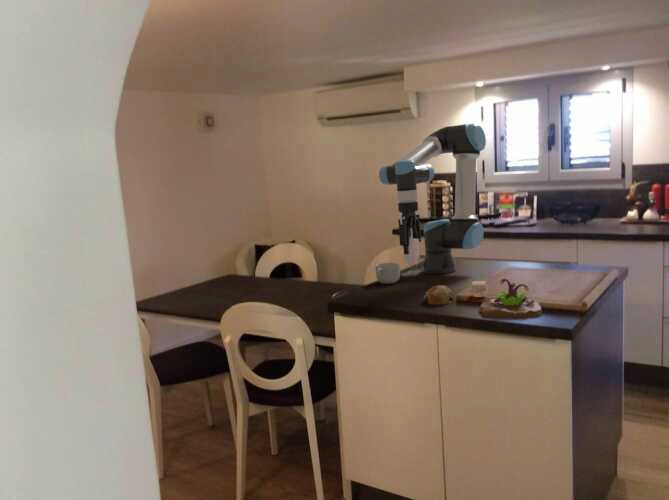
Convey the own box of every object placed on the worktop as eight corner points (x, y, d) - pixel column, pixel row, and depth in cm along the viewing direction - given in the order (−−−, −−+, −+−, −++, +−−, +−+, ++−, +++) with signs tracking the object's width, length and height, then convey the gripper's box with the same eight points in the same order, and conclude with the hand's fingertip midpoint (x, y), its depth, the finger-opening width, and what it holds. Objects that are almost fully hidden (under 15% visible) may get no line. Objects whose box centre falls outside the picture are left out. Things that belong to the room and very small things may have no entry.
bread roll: (442, 315, 214) (450, 296, 211) (418, 302, 219) (425, 283, 216) (453, 308, 223) (460, 290, 220) (428, 295, 227) (436, 277, 224)
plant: (482, 304, 213) (481, 273, 211) (541, 303, 207) (540, 271, 205) (478, 319, 194) (476, 285, 192) (542, 320, 188) (541, 284, 186)
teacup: (387, 278, 267) (386, 261, 266) (406, 281, 260) (405, 262, 258) (366, 285, 258) (364, 267, 257) (385, 287, 250) (384, 268, 249)
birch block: (473, 294, 226) (472, 281, 226) (487, 294, 225) (486, 281, 224) (472, 297, 222) (471, 284, 221) (486, 297, 220) (485, 284, 219)
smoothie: (420, 265, 231) (417, 229, 229) (403, 266, 232) (400, 230, 230) (421, 261, 237) (418, 226, 235) (404, 262, 238) (402, 227, 236)
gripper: (410, 198, 241) (414, 255, 244) (387, 204, 225) (391, 265, 229) (427, 198, 236) (431, 255, 240) (404, 204, 221) (409, 265, 224)
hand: (412, 260), depth 234 cm, fingers closed on smoothie, 6 cm apart
